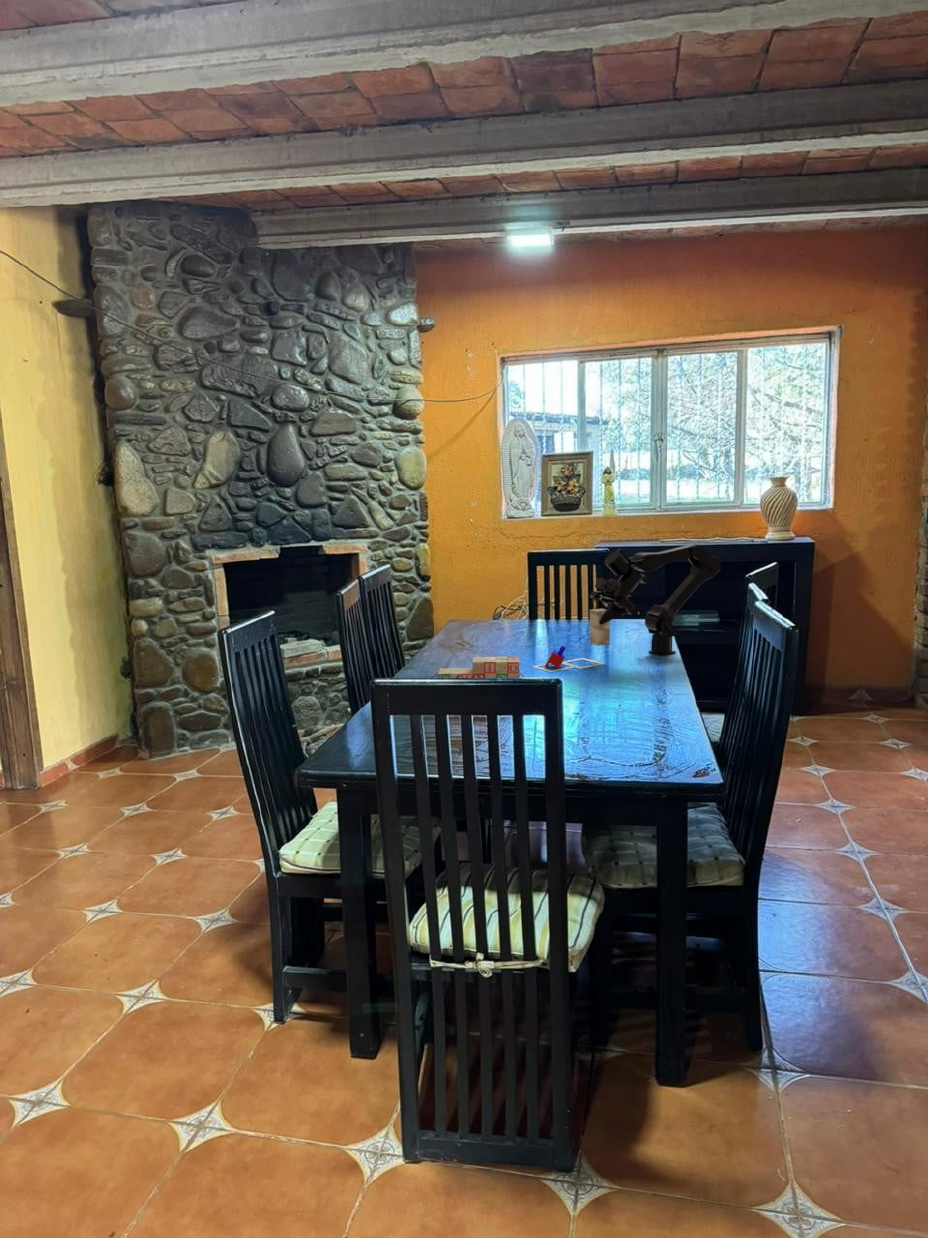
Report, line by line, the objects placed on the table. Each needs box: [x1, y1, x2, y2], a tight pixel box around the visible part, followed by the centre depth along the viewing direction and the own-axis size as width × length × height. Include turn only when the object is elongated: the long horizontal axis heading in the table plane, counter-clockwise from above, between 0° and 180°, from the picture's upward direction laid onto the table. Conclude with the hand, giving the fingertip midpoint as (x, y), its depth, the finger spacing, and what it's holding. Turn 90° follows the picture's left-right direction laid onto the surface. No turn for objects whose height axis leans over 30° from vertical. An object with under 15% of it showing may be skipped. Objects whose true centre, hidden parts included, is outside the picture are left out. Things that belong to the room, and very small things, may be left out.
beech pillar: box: [589, 608, 611, 647], centre depth 256 cm, size 4×4×11 cm
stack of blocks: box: [437, 656, 521, 679], centre depth 213 cm, size 21×6×12 cm, turn 86°
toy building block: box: [544, 645, 567, 669], centre depth 252 cm, size 4×4×8 cm
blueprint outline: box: [531, 657, 606, 673], centre depth 254 cm, size 20×12×1 cm, turn 123°
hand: (596, 622), depth 256 cm, fingers closed on beech pillar, 4 cm apart
